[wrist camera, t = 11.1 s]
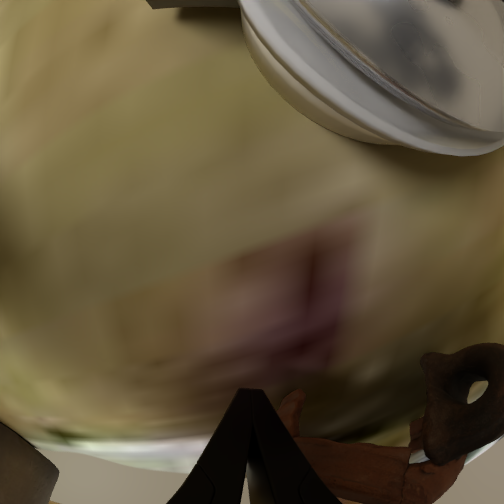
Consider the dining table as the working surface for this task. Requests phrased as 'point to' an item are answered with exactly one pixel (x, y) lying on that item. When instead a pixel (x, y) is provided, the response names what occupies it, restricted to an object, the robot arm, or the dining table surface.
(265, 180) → the dining table surface
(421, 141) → the press
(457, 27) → the plunger
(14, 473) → the pillar candle
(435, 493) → the pottery mug
